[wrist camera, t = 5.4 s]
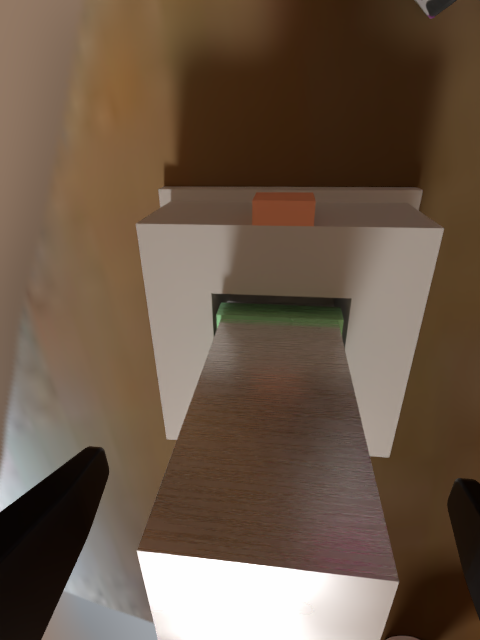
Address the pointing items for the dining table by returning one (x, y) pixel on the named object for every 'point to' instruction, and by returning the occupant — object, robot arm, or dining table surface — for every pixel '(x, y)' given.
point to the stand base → (291, 280)
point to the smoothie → (402, 638)
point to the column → (270, 492)
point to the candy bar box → (433, 6)
